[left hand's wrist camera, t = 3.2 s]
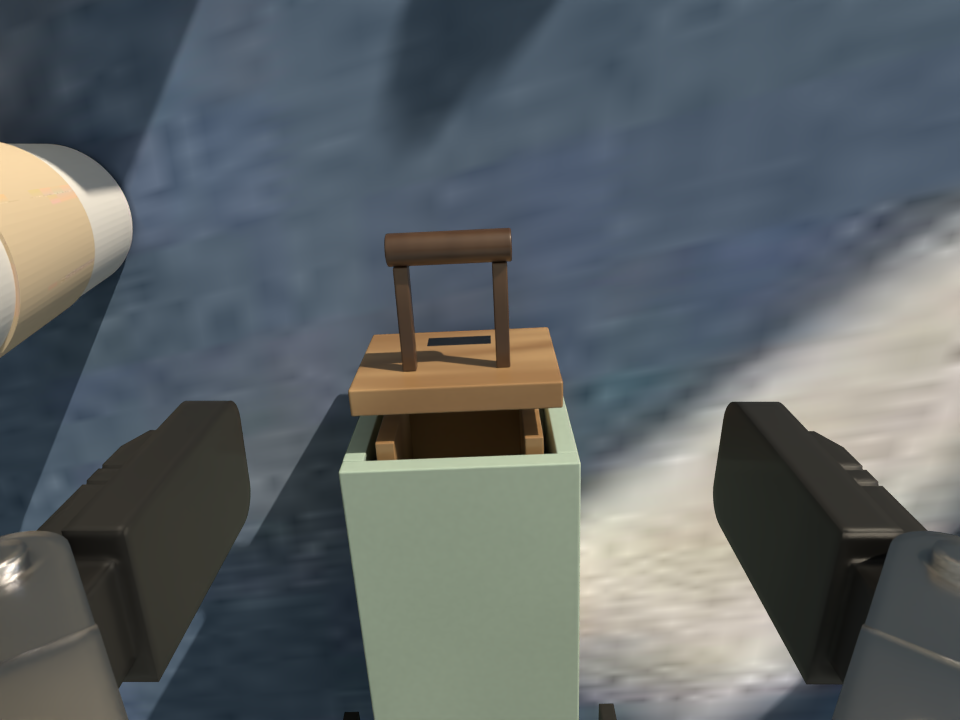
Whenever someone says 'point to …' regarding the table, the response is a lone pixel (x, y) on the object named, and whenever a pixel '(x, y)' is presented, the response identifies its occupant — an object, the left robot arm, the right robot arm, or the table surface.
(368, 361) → the drawer
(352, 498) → the cabinet
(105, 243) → the coffee cup
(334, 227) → the table surface
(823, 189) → the table surface
